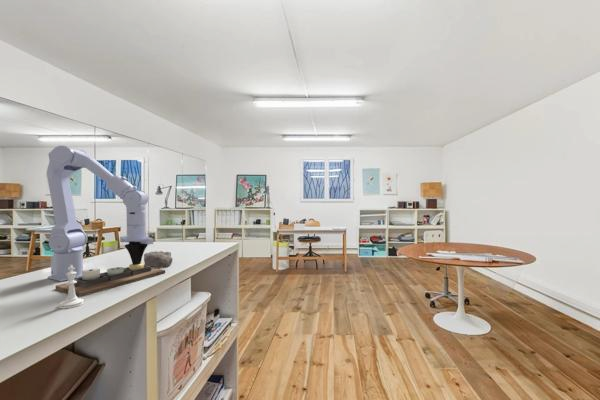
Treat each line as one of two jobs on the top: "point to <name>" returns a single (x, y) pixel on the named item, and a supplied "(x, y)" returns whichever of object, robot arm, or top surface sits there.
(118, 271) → the button two
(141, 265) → the button three
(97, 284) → the button board
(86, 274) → the button one
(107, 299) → the top surface
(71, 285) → the chess piece
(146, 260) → the stone
